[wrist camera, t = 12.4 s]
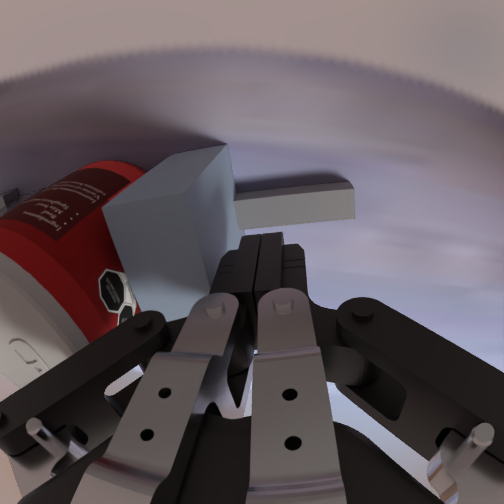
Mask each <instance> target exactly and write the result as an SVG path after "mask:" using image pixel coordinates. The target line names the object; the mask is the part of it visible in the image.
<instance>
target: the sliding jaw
mask: <svg viewBox="0 0 504 504" xmlns="http://www.w3.org/2000/svg"><path fill="white" fill-rule="evenodd" d="M102 211H103V214H104V217H105V220H106V222H107V225H108V228H109V231H110V234H111V237H112V239H113V242H114V245H115V247H116V250H117V253H118V255H119V258H120V261H121V263H122V266H123V268H124V271H125V273H126V276H127V278H128V281H129V283H130V286H131V288H132V290H133V293H134V295H135V297H136V300H137V302H138V304H139V307H140V309H141V311H142V312H143V311H148V310H154V311H159V312H161V313H162V314H163V315H164V317H165V319H166V321H167V322H169V321H173V320H177V319H181V318H184V317H187V316H188V315H189V313H190V311H191V309H192V307H193V305H194V304H195V303H196V302H197V301H198V300H199V299H201V298H202V297H204V296H207V295H209V292H210V289H211V286H212V283H213V280H214V277H215V275H216V271H217V268H218V265H219V262H220V260H221V257H223V256H224V255H225V254H226V253H227V252H228V251H229V250H236V249H238V247H239V244H240V240H241V237H242V236H245V235H244V230H245V229H254V228H263V227H273V226H283V225H292V224H303V223H313V222H323V221H334V220H345V219H355V192H354V187H353V186H352V184H351V183H350V181H349V182H337V183H326V184H315V185H305V186H295V187H285V188H276V189H268V190H259V191H251V192H243V193H236V188H235V182H234V177H233V172H232V167H231V161H230V156H229V151H228V145H227V144H225V145H219V146H213V147H208V148H202V149H197V150H191V151H186V152H181V153H176V154H172V155H171V156H169V157H168V158H166V159H165V160H163V161H162V162H161V163H159V164H158V165H156V166H155V167H154V168H152V169H151V170H150V171H148V172H147V173H146V174H144V175H143V176H141V177H140V178H139V179H137V180H136V181H135V182H134V183H132V184H131V185H130V186H128V187H127V188H126V189H124V190H123V191H122V192H121V193H119V194H118V195H117V196H115V197H114V198H113V199H112V200H110V201H109V202H108V203H107V204H105V205H104V206H103V207H102Z"/></svg>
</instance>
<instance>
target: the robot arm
mask: <svg viewBox="0 0 504 504" xmlns="http://www.w3.org/2000/svg"><path fill="white" fill-rule="evenodd" d="M257 349H258V351H257V354H254V350H257ZM253 355H254V356H253ZM137 365H139V366H140V368H141V369H142V371H143V373H144V374H143V375H142V376H141V377H139V378H138V379H136V380H135V381H134V382H132V383H131V384H129V385H128V386H127V387H125V388H124V389H122V390H121V391H119V392H118V393H116V394H115V395H112V396H107V395H105V394H104V392H105V389H106V388H107V386H108V385H110V384H111V383H112V382H113V381H115V380H117V379H118V378H120V377H121V376H122V375H124V374H125V373H127V372H128V371H130V370H131V369H133V368H134V367H136V366H137ZM252 375H253V380H252ZM251 380H252V416H248V417H243V416H244V411H245V406H246V402H247V398H248V393H249V389H250V384H251ZM326 381H327V382H333V383H335V385H336V387H337V389H338V390H339V391H340V392H341V393H342V394H343V395H345V396H346V397H347V398H348V399H350V400H351V401H352V402H353V403H354V404H356V405H357V406H358V407H359V408H361V409H362V410H363V411H364V412H366V413H367V414H368V415H369V416H371V417H372V418H373V419H375V420H376V421H377V422H378V423H380V424H381V425H382V426H383V427H385V428H386V429H387V430H388V431H390V432H391V433H392V434H394V435H395V436H396V437H397V438H399V439H400V440H401V441H403V442H404V443H405V444H407V445H408V446H409V447H411V448H412V449H413V450H415V451H416V452H417V453H419V454H420V455H421V456H423V457H424V458H425V459H427V460H428V461H429V463H428V466H427V478H428V481H429V483H430V485H431V486H432V487H433V488H434V489H435V490H436V491H437V493H438V494H439V496H440V499H441V500H440V499H439V498H438V497H437V496H435V495H434V494H432V492H430V491H429V490H428V489H427V488H425V487H424V486H423V485H422V484H421V483H419V482H418V481H417V480H416V479H415V478H413V477H412V476H411V475H410V474H409V473H408V472H406V471H405V470H404V469H403V468H402V467H401V466H399V465H398V464H397V463H396V462H395V461H394V460H392V459H391V458H390V457H389V456H388V455H387V454H385V453H384V452H383V451H382V450H381V449H380V448H379V447H378V446H377V445H375V444H374V443H373V442H372V441H371V440H370V439H369V438H367V437H366V436H365V435H363V434H362V433H360V432H359V431H357V430H355V429H353V428H351V427H349V426H347V425H344V424H341V423H337V422H334V421H333V419H332V413H331V406H330V401H329V394H328V389H327V383H326ZM0 449H1V450H3V452H4V453H5V454H6V455H7V456H8V457H9V461H10V464H11V467H12V470H13V473H14V476H15V479H16V481H17V484H18V487H19V490H20V492H21V495H22V497H23V498H22V499H21V500H20V501H19V502H18V503H17V504H504V373H503V372H502V371H500V370H498V369H496V368H495V367H493V366H491V365H490V364H488V363H486V362H485V361H483V360H481V359H479V358H478V357H476V356H474V355H473V354H471V353H469V352H467V351H466V350H464V349H462V348H461V347H459V346H457V345H455V344H454V343H452V342H450V341H448V340H447V339H445V338H443V337H442V336H440V335H438V334H436V333H435V332H433V331H431V330H429V329H428V328H426V327H424V326H422V325H421V324H419V323H417V322H415V321H413V320H412V319H410V318H408V317H406V316H405V315H403V314H401V313H399V312H398V311H396V310H394V309H392V308H390V307H389V306H387V305H385V304H383V303H382V302H380V301H378V300H375V299H372V298H367V297H358V298H353V299H350V300H347V301H345V302H344V303H342V304H341V305H340V306H339V308H338V309H337V310H335V309H328V308H324V307H321V306H319V305H317V304H315V303H314V302H313V301H311V299H310V298H309V296H308V290H307V277H306V266H305V254H304V250H303V249H302V248H301V247H300V246H299V244H288V245H284V238H283V233H282V232H276V233H265V234H256V235H246V236H242V237H241V240H240V244H239V247H238V249H236V250H229V251H228V252H227V253H226V254H225V255H224V256H223V257H221V260H220V262H219V265H218V268H217V271H216V275H215V277H214V280H213V283H212V286H211V289H210V292H209V295H207V296H204V297H202V298H201V299H199V300H198V301H197V302H196V303H195V304H194V305H193V307H192V309H191V311H190V313H189V315H188V316H187V317H184V318H181V319H177V320H173V321H169V322H167V321H166V319H165V317H164V315H163V314H162V313H161V312H159V311H154V310H148V311H143V312H140V313H137V314H135V315H134V316H132V317H130V318H129V319H127V320H126V321H124V322H123V323H121V324H119V325H118V326H116V327H115V328H113V329H112V330H110V331H109V332H107V333H105V334H104V335H102V336H101V337H99V338H98V339H96V340H95V341H93V342H91V343H90V344H88V345H87V346H85V347H84V348H82V349H81V350H79V351H78V352H76V353H74V354H73V355H71V356H70V357H68V358H67V359H65V360H64V361H62V362H61V363H59V364H58V365H56V366H54V367H53V368H51V369H50V370H48V371H47V372H45V373H44V374H42V375H41V376H39V377H38V378H36V379H35V380H33V381H32V382H30V383H28V384H27V385H25V386H24V387H22V388H21V389H20V390H18V391H16V392H15V393H13V394H12V395H10V396H9V397H7V398H6V399H5V400H3V401H1V402H0Z"/></svg>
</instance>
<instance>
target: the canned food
mask: <svg viewBox="0 0 504 504" xmlns="http://www.w3.org/2000/svg"><path fill="white" fill-rule="evenodd" d="M146 173H147V172H145V171H144V170H142V169H141V168H139V167H137V166H135V165H132V164H130V163H126V162H121V161H111V160H110V161H98V162H94V163H91V164H88V165H87V166H85V167H83V168H81V169H79V170H77V171H75V172H74V173H72V174H70V175H68V176H66V177H65V178H63V179H61V180H59V181H58V182H56V183H54V184H52V185H51V186H49V187H47V188H46V189H44V190H42V191H41V192H39V193H37V194H36V195H34V196H33V197H31V198H29V199H28V200H26V201H25V202H23V203H22V204H20V205H18V206H17V207H15V208H14V209H12V210H11V211H9V212H8V213H6V214H5V215H3V216H2V217H1V218H0V373H1V374H2V375H3V376H5V377H6V378H7V379H8V380H9V381H11V382H12V383H13V384H14V385H16V386H17V387H19V388H20V389H21V388H22V387H24V386H25V385H27V384H28V383H30V382H32V381H33V380H35V379H36V378H38V377H39V376H41V375H42V374H44V373H45V372H47V371H48V370H50V369H51V368H53V367H54V366H56V365H58V364H59V363H61V362H62V361H64V360H65V359H67V358H68V357H70V356H71V355H73V354H74V353H76V352H78V351H79V350H81V349H82V348H84V347H85V346H87V345H88V344H90V343H91V342H93V341H95V340H96V339H98V338H99V337H101V336H102V335H104V334H105V333H107V332H109V331H110V330H112V329H113V328H115V327H116V326H118V325H119V324H121V323H123V322H124V321H126V320H127V319H129V318H130V317H132V316H134V315H135V314H137V313H140V312H142V311H141V309H140V307H139V304H138V302H137V300H136V297H135V295H134V293H133V290H132V288H131V286H130V283H129V281H128V278H127V276H126V273H125V271H124V268H123V266H122V263H121V261H120V258H119V255H118V253H117V250H116V247H115V245H114V242H113V239H112V237H111V234H110V231H109V228H108V225H107V222H106V220H105V217H104V214H103V211H102V207H103V206H104V205H105V204H107V203H108V202H109V201H110V200H112V199H113V198H114V197H115V196H117V195H118V194H119V193H121V192H122V191H123V190H124V189H126V188H127V187H128V186H130V185H131V184H132V183H134V182H135V181H136V180H137V179H139V178H140V177H141V176H143V175H144V174H146Z"/></svg>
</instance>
